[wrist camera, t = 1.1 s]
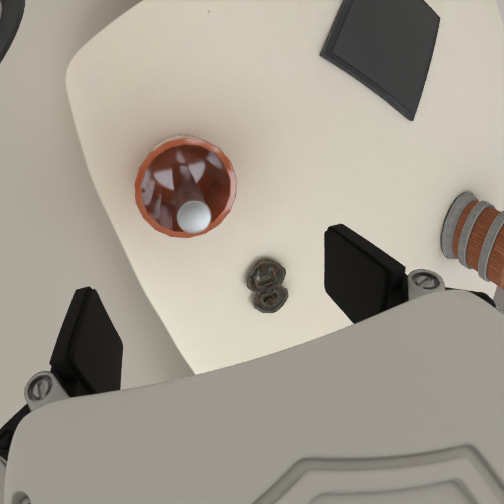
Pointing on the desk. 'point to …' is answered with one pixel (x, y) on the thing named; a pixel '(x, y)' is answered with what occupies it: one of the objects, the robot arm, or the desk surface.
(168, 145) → the holder
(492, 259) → the mug
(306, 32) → the desk surface
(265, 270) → the corroded twin loop
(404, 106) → the tablet
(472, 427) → the robot arm
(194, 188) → the stylus
